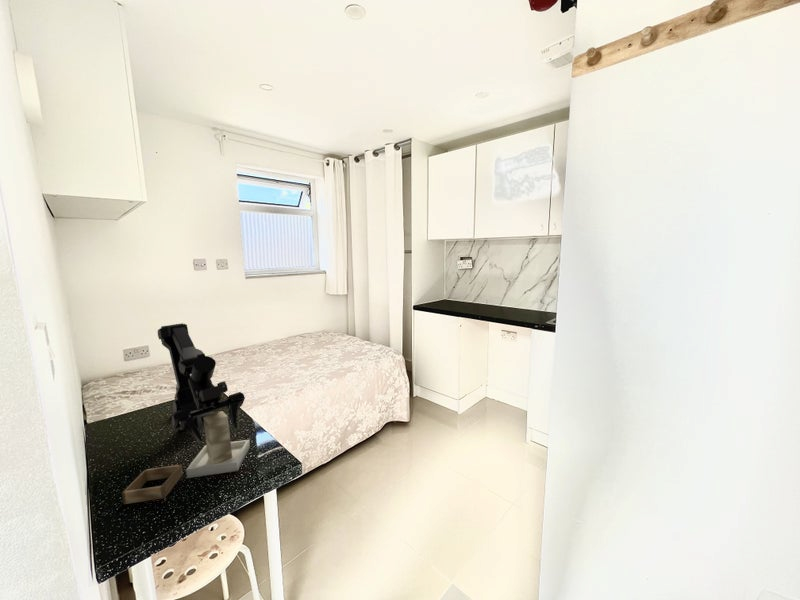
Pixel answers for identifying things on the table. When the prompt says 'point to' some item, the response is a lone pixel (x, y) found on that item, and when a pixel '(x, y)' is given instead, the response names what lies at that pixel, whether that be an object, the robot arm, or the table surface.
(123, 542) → the table surface
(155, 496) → the oak collar
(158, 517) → the table surface
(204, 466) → the white tray
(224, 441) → the maple block
